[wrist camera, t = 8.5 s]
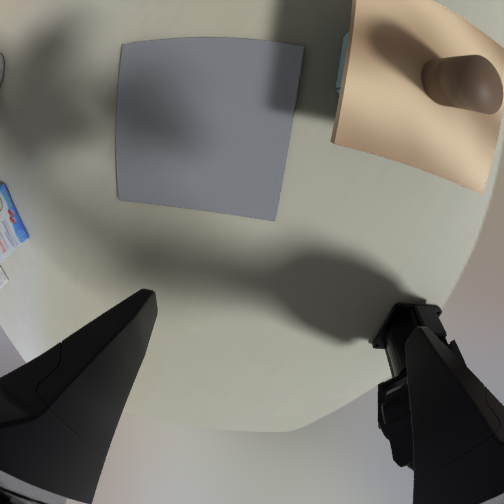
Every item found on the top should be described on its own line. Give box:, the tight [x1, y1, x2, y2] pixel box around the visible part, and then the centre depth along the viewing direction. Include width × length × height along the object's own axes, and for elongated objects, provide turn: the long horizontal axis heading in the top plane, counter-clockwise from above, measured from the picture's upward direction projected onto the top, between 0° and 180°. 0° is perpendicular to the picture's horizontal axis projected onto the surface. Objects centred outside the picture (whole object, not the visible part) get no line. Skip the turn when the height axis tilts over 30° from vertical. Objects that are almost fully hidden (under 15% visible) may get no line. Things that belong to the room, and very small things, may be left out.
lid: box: [331, 0, 504, 195], centre depth 8 cm, size 11×11×5 cm
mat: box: [116, 37, 304, 221], centre depth 17 cm, size 13×13×1 cm
